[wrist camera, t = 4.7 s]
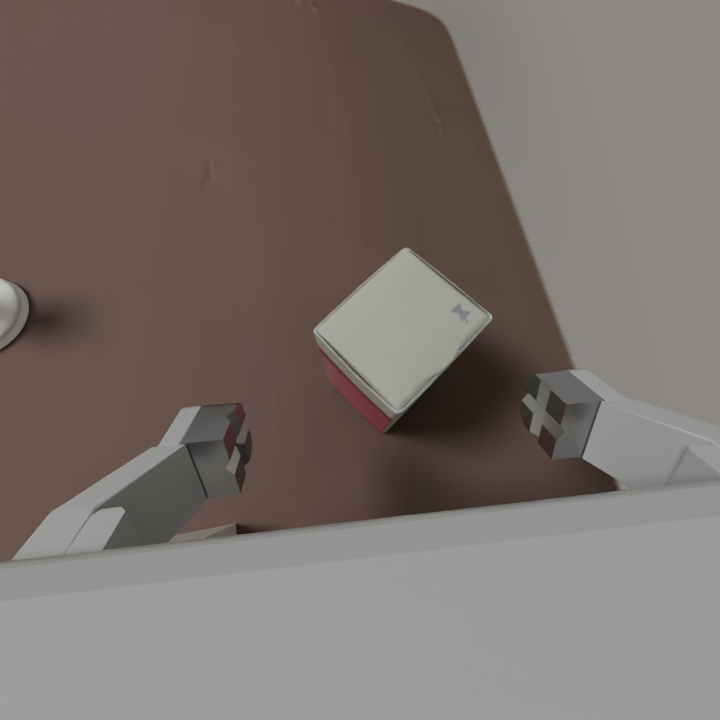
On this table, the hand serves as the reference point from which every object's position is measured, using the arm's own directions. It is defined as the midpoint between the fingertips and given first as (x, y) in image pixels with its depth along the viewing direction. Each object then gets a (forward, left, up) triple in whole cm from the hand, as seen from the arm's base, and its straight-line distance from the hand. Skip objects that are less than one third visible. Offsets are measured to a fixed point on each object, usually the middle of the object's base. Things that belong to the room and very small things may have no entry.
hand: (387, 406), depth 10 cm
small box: (+3, -1, -9) cm, 10 cm away
